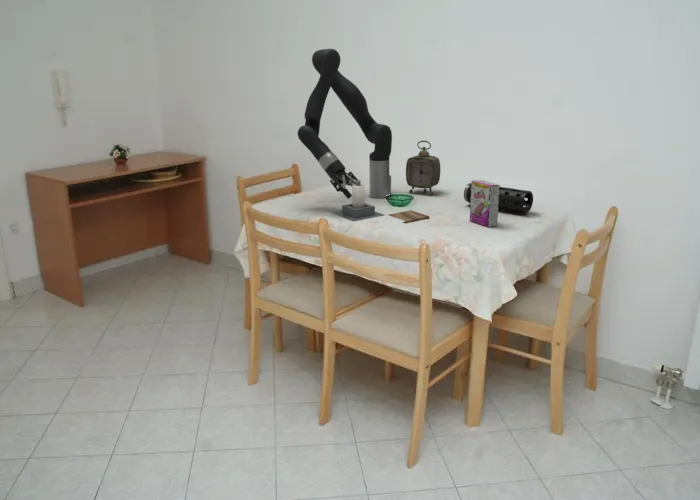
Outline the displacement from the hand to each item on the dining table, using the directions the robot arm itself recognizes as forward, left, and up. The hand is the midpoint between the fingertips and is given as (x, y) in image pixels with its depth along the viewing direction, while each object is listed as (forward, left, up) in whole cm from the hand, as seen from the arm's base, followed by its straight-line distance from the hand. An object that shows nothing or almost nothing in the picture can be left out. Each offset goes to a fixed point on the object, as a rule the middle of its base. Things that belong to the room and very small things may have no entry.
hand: (355, 195), depth 241 cm
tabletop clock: (-49, -15, -9) cm, 52 cm away
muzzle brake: (-54, +27, -9) cm, 61 cm away
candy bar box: (-34, +39, -9) cm, 52 cm away
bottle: (-1, +1, -8) cm, 8 cm away
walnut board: (-16, +15, -9) cm, 23 cm away
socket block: (-1, +1, -9) cm, 9 cm away
